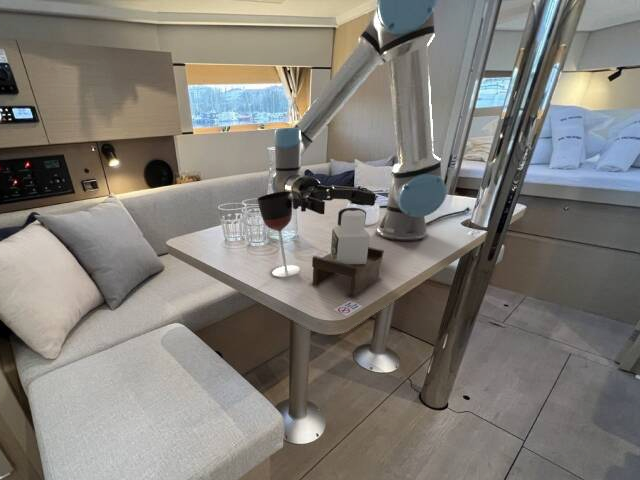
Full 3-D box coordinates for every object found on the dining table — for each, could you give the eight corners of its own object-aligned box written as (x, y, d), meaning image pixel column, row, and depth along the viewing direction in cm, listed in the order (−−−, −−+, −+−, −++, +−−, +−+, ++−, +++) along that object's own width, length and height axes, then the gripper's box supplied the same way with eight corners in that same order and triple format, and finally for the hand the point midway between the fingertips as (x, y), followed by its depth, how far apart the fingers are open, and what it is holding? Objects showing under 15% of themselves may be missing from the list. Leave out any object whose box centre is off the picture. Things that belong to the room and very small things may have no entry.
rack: (340, 267, 87) (342, 241, 84) (379, 277, 80) (383, 250, 77) (311, 285, 79) (312, 257, 75) (352, 298, 72) (355, 268, 68)
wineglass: (264, 274, 86) (250, 200, 77) (285, 263, 91) (274, 191, 82) (286, 279, 80) (273, 199, 72) (307, 266, 85) (298, 190, 76)
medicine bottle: (330, 254, 80) (333, 206, 74) (358, 253, 80) (364, 205, 74) (335, 265, 74) (339, 214, 68) (366, 264, 73) (373, 212, 67)
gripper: (340, 197, 95) (390, 212, 77) (263, 209, 87) (300, 228, 70) (341, 171, 91) (395, 180, 73) (262, 181, 84) (300, 193, 66)
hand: (349, 203), depth 72 cm, fingers open, 13 cm apart
